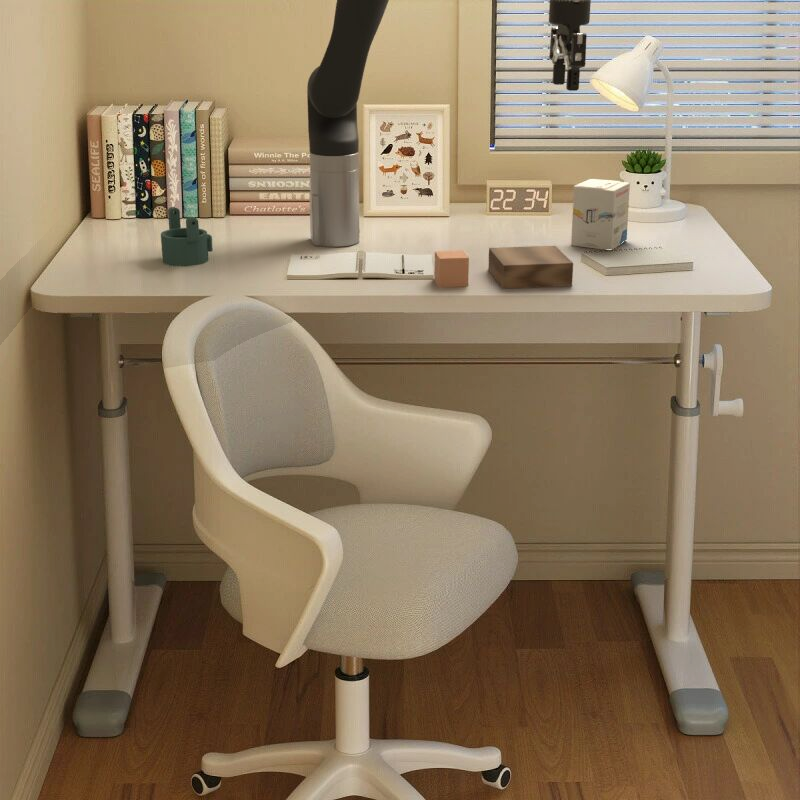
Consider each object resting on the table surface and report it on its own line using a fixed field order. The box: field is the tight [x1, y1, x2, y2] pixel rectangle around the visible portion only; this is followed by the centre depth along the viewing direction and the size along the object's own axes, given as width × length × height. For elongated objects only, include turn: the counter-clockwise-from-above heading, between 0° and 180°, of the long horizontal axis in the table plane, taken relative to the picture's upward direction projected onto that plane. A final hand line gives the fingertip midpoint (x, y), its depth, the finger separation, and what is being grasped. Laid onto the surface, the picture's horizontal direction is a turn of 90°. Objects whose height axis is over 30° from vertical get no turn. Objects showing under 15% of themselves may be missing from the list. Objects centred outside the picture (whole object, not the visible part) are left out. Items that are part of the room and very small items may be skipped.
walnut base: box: [487, 245, 574, 289], centre depth 217 cm, size 12×12×4 cm
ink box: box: [570, 178, 631, 250], centre depth 238 cm, size 9×8×12 cm
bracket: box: [160, 206, 213, 267], centre depth 227 cm, size 9×9×9 cm
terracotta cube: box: [433, 249, 470, 288], centre depth 214 cm, size 5×5×5 cm
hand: (565, 87), depth 236 cm, fingers open, 8 cm apart
